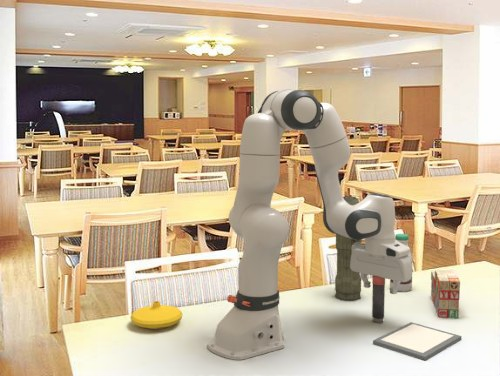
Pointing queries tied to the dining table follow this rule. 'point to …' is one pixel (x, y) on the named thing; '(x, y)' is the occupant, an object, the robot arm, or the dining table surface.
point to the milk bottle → (404, 240)
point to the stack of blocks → (445, 293)
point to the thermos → (346, 266)
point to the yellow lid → (156, 316)
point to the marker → (378, 299)
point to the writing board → (417, 340)
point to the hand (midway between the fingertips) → (380, 290)
